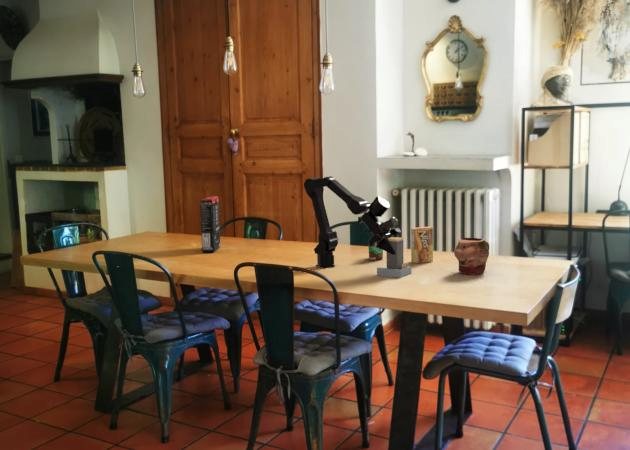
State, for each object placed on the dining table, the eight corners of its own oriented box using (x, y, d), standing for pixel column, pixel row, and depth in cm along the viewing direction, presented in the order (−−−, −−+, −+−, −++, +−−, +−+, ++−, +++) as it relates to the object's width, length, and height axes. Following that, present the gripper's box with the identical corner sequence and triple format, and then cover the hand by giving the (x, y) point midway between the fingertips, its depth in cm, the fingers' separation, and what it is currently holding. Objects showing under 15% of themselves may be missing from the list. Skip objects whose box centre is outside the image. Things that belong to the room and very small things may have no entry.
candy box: (429, 260, 296) (429, 226, 294) (433, 261, 292) (433, 227, 290) (411, 261, 294) (410, 227, 292) (414, 263, 290) (414, 228, 288)
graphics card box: (208, 247, 350) (205, 196, 346) (221, 247, 350) (218, 195, 346) (201, 253, 333) (198, 199, 329) (215, 253, 333) (212, 199, 329)
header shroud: (377, 275, 270) (376, 263, 269) (388, 270, 277) (387, 259, 276) (400, 277, 263) (400, 265, 263) (411, 273, 271) (411, 261, 270)
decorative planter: (473, 266, 281) (473, 233, 279) (499, 269, 272) (499, 236, 270) (446, 274, 267) (446, 240, 265) (473, 278, 258) (473, 243, 256)
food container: (381, 262, 295) (381, 240, 294) (368, 261, 297) (367, 239, 296) (387, 257, 307) (387, 235, 305) (374, 256, 309) (374, 235, 307)
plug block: (386, 269, 269) (386, 238, 267) (392, 266, 273) (392, 236, 271) (397, 270, 266) (397, 239, 264) (403, 268, 270) (403, 237, 268)
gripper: (373, 214, 261) (398, 243, 256) (397, 208, 276) (421, 236, 271) (357, 232, 267) (381, 261, 262) (381, 226, 282) (404, 253, 277)
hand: (397, 252), depth 268 cm, fingers closed on plug block, 5 cm apart
